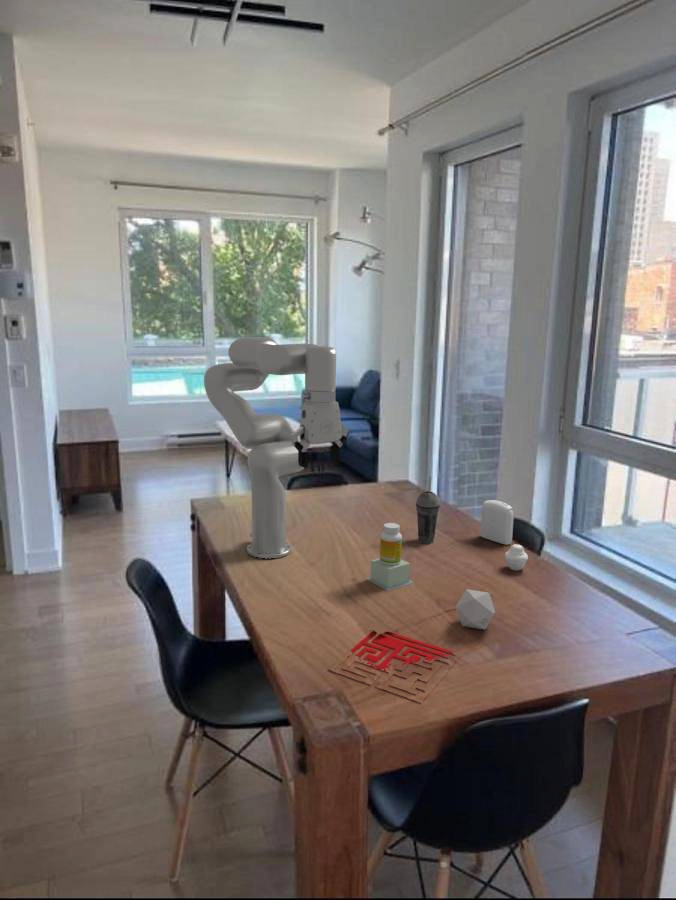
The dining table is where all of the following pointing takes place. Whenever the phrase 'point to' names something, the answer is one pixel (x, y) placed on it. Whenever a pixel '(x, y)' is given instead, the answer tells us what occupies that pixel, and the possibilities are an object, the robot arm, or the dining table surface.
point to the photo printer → (497, 521)
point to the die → (475, 609)
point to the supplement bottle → (391, 544)
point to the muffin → (516, 557)
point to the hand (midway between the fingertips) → (319, 464)
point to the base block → (390, 573)
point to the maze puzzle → (395, 649)
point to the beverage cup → (427, 515)
